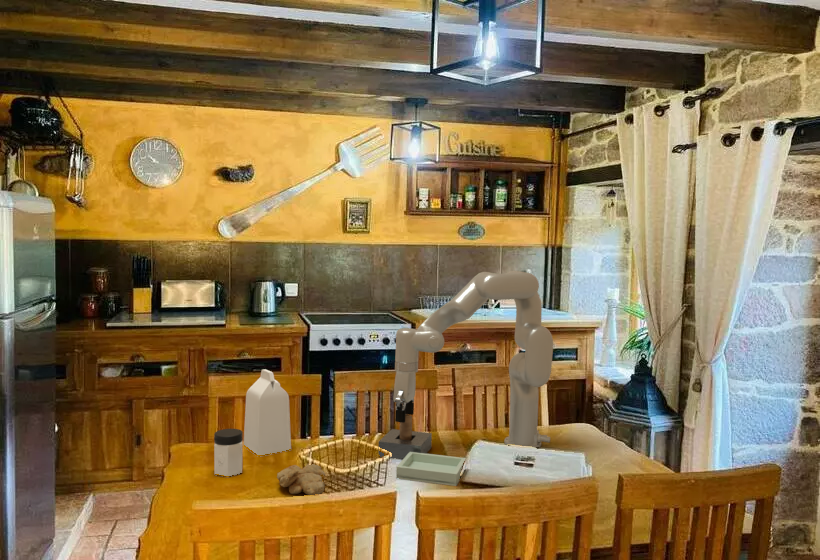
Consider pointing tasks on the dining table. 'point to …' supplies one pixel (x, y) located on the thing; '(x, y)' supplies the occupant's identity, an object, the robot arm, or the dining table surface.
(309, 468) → the ginger root
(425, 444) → the block
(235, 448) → the jar
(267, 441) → the milk
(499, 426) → the dining table surface
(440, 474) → the sage tray
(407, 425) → the walnut peg
